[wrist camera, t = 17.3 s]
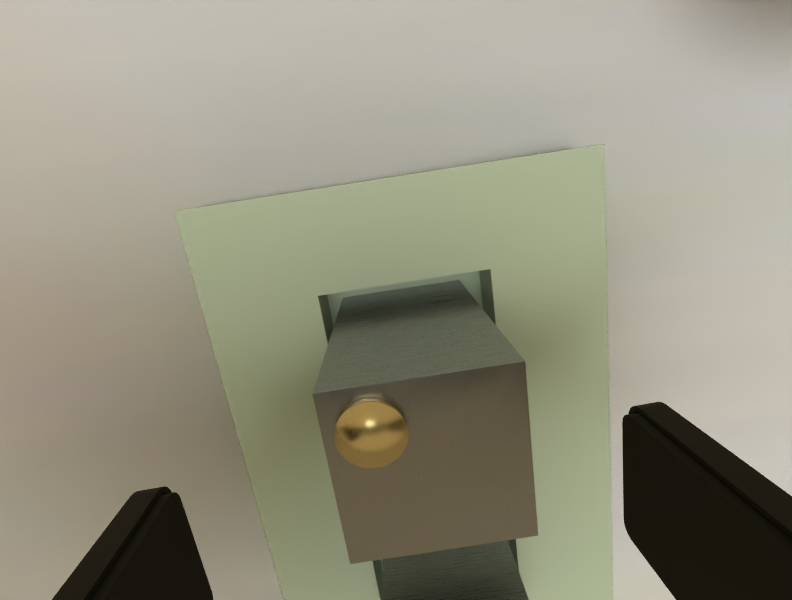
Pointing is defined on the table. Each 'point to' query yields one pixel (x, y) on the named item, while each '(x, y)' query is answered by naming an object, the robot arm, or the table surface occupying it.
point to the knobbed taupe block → (425, 424)
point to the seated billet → (455, 575)
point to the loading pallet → (402, 268)
